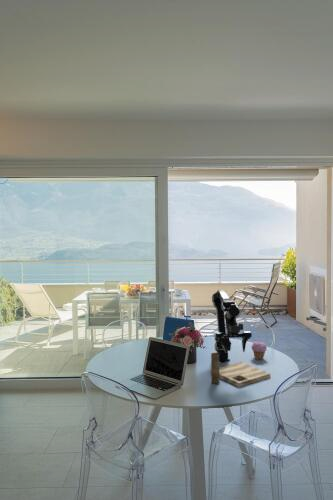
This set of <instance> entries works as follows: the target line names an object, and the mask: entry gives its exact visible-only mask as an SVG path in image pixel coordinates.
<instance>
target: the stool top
mask: <svg viewBox="0 0 333 500" xmlns="http://www.w3.org/2000/svg"><path fill="white" fill-rule="evenodd" d="M270 378H271V373H270V372H267V371H265V370H263V369H261V368H257V367H255V366H252V365H250V364H248V363H244V362H242V361H240V362H236V363H232V364H229V365H225V366H222V367H221V366H220V367H219V379H220V380H224V381H225V382H227V383H230V384H232V385H234V386H236V387H237V388H241V387H244V386H247V385H250V384H254V383H257V382H259V381H262V380H266V379H270Z"/></svg>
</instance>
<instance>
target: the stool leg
mask: <svg viewBox="0 0 333 500" xmlns="http://www.w3.org/2000/svg"><path fill="white" fill-rule="evenodd" d="M210 360H211V362H210V363H211V364H210V367H211V368H210V369H211V370H210V376H211V384H212V385H219V384H220V378H219V368H220V362H219V353H217V352H211V353H210Z"/></svg>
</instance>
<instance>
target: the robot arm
mask: <svg viewBox="0 0 333 500" xmlns="http://www.w3.org/2000/svg"><path fill="white" fill-rule="evenodd" d="M211 302H212V304H213V307H214V308H215V311H216V317H217V318H216V320H217V321H216V322H217V332H216V333H215V334H214V337H213V338H214V341H215V342H214V350H215V351H216V353H219V363H221V364H223V363H226V362H229V361H231V359H230V358H229V352H230V351H231V348H232V342H231V340H230V339H233V338H234V339H235V338H238V339H239V338H241V344H242V345H241V347H242V353H245V351H246V345H247V342H248V341H249V340H250V339H251V338H253V337H252V336H253V335H252V332H251V331H249V330H248V331H244V324H243V323H237V318H238V316H239V315H240V312H241V311H240V309H239V305H238V304H237V303H236V302H235V300H234V299H231V298H230V297H229V296H228V294H227V290H225V289H219V290H217V291H216V292H214V293H213V294H212V295H211ZM225 312H226V313H225ZM241 331H243V332H242V333H241Z"/></svg>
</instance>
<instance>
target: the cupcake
mask: <svg viewBox="0 0 333 500" xmlns="http://www.w3.org/2000/svg"><path fill="white" fill-rule="evenodd" d="M251 350H252V352H253V357H254V358H255V360H263V359H264V357H265V355H266V354H265V353H266V352H267V345H266V344H265V342H264V341H254V342H253V343H252V345H251Z"/></svg>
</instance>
